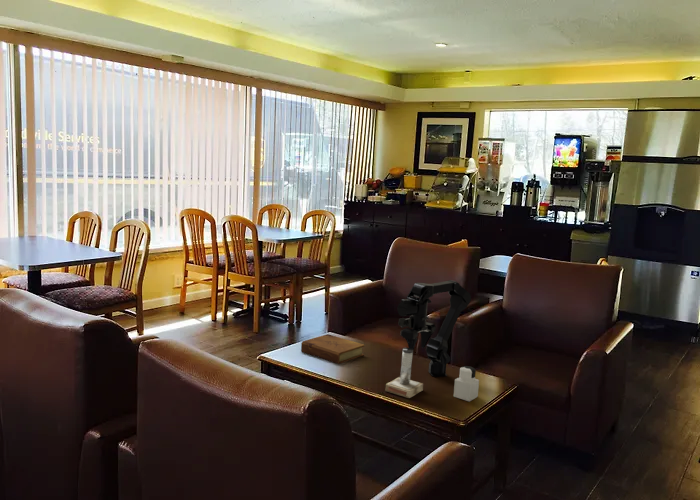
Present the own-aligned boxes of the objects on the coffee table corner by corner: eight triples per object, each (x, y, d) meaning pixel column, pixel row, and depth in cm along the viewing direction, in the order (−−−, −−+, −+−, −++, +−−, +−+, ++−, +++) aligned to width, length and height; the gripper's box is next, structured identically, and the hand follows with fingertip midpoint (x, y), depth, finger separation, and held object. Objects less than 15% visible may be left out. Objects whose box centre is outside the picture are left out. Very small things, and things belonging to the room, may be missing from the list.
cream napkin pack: (399, 383, 237) (399, 376, 237) (422, 390, 231) (423, 382, 230) (384, 391, 228) (385, 383, 227) (409, 398, 222) (409, 390, 221)
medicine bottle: (461, 391, 231) (464, 363, 230) (477, 396, 227) (480, 367, 225) (453, 396, 226) (455, 367, 224) (469, 402, 221) (471, 372, 220)
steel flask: (410, 381, 231) (413, 348, 229) (409, 385, 227) (412, 351, 224) (400, 380, 231) (403, 347, 229) (398, 384, 227) (402, 350, 225)
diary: (301, 353, 271) (301, 341, 270) (327, 345, 285) (327, 334, 284) (338, 365, 256) (338, 352, 256) (363, 356, 271) (364, 344, 270)
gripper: (415, 306, 250) (412, 341, 252) (390, 313, 236) (388, 350, 238) (437, 311, 243) (434, 347, 246) (413, 319, 229) (411, 356, 231)
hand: (417, 349), depth 240 cm, fingers open, 9 cm apart
